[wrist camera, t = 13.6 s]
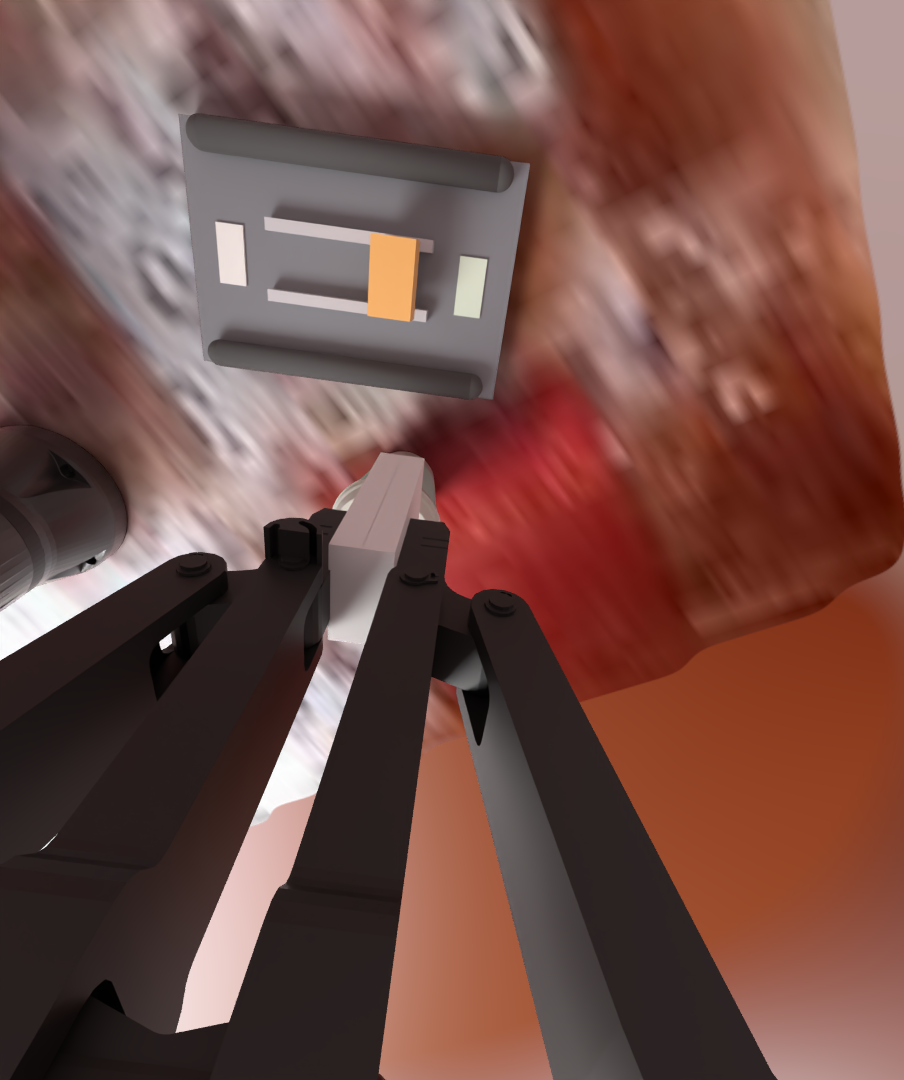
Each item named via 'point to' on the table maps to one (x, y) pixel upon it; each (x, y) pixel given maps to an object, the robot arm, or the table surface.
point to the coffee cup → (427, 493)
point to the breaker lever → (392, 277)
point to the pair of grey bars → (359, 159)
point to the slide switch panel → (349, 260)
